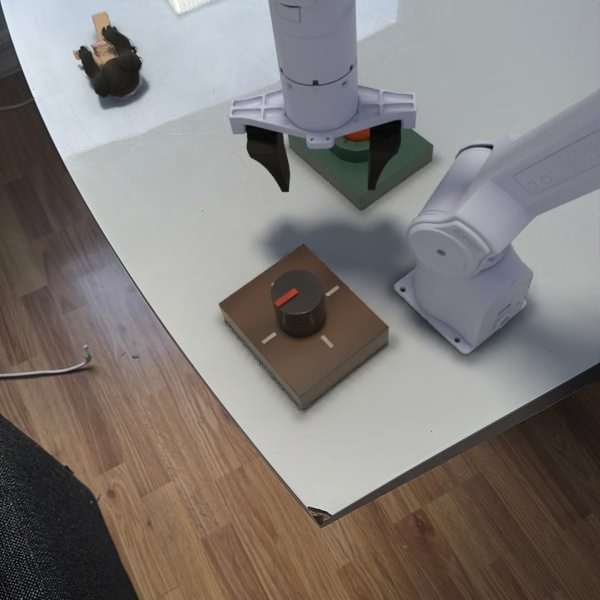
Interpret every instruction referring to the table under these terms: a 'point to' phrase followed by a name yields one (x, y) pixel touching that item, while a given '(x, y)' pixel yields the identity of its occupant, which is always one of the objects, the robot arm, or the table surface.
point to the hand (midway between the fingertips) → (328, 182)
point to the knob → (299, 302)
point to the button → (359, 135)
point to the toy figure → (111, 61)
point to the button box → (364, 164)
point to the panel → (313, 348)
